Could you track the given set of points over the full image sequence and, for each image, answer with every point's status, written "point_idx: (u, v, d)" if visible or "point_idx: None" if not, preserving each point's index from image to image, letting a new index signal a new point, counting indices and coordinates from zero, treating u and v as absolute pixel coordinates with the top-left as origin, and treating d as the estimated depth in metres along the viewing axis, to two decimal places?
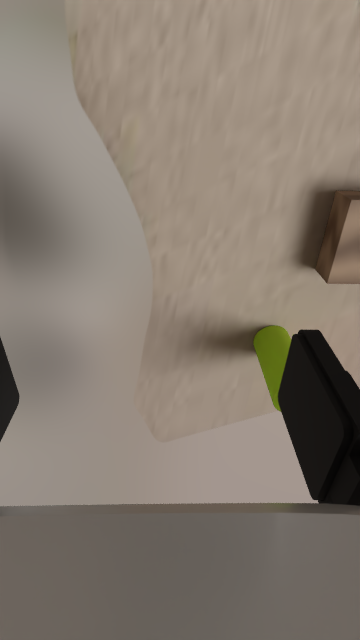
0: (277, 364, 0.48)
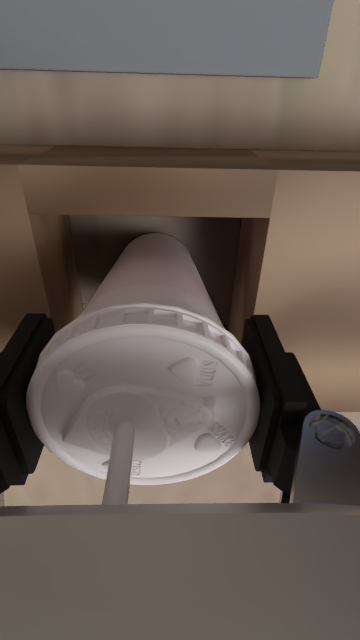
0: None
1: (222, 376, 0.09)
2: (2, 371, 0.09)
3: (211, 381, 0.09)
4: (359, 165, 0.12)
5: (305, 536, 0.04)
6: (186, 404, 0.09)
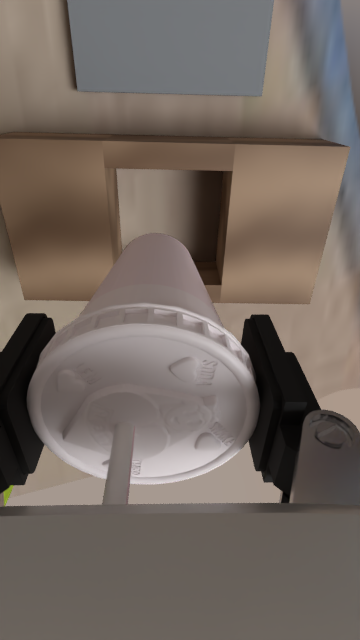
0: None
1: (222, 376, 0.09)
2: (2, 371, 0.09)
3: (211, 381, 0.09)
4: (281, 143, 0.22)
5: (305, 536, 0.04)
6: (186, 403, 0.09)
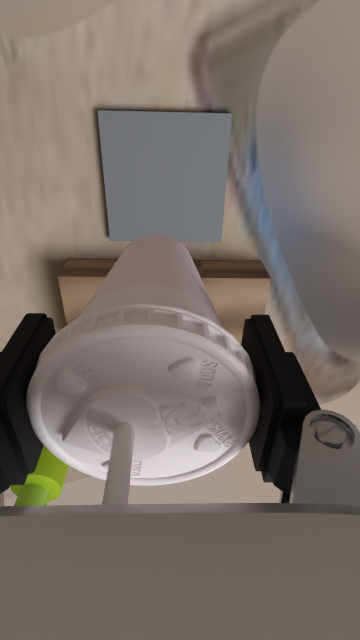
0: None
1: (222, 376, 0.09)
2: (2, 371, 0.09)
3: (211, 381, 0.09)
4: (232, 273, 0.37)
5: (305, 536, 0.04)
6: (186, 404, 0.09)
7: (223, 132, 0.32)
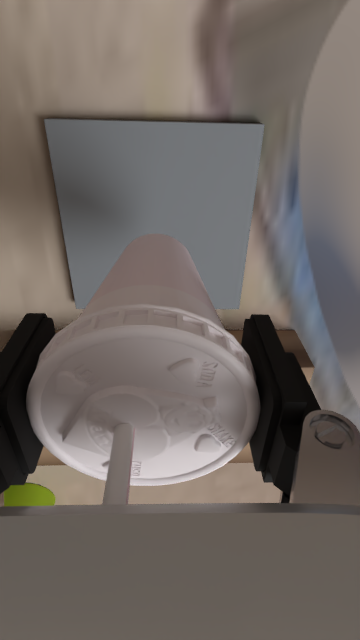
0: None
1: (222, 377, 0.09)
2: (2, 371, 0.09)
3: (211, 382, 0.09)
4: None
5: (305, 536, 0.04)
6: (186, 405, 0.09)
7: (248, 154, 0.20)
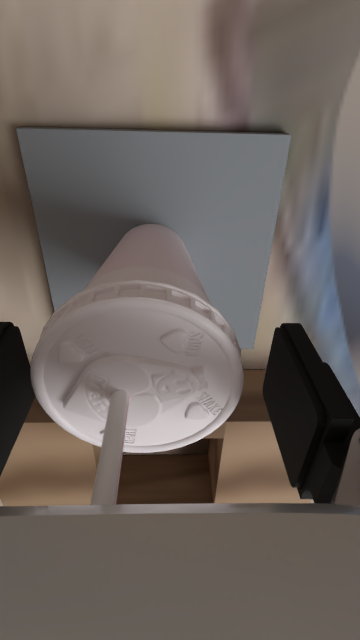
0: None
1: (208, 347, 0.10)
2: None
3: (198, 351, 0.10)
4: None
5: (305, 536, 0.04)
6: (176, 373, 0.10)
7: (270, 171, 0.16)
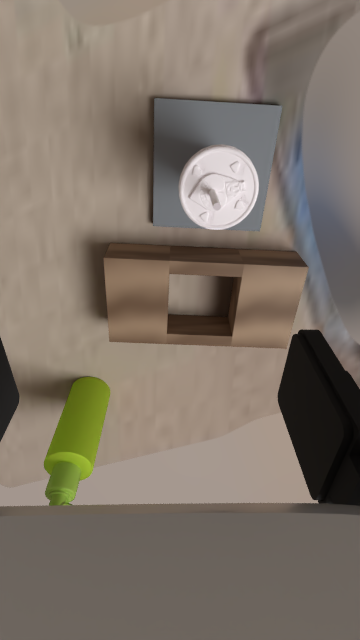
0: (61, 425, 0.44)
1: (246, 170, 0.26)
2: None
3: (243, 173, 0.26)
4: (270, 261, 0.38)
5: (305, 536, 0.04)
6: (234, 181, 0.27)
7: (272, 123, 0.33)
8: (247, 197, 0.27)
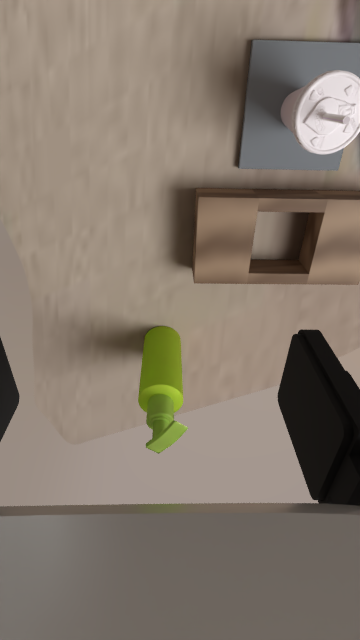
0: (149, 365, 0.47)
1: (359, 94, 0.29)
2: None
3: (355, 96, 0.29)
4: (350, 197, 0.41)
5: (305, 536, 0.04)
6: (347, 105, 0.29)
7: (359, 61, 0.36)
8: (356, 120, 0.30)
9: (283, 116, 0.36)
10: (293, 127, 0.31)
